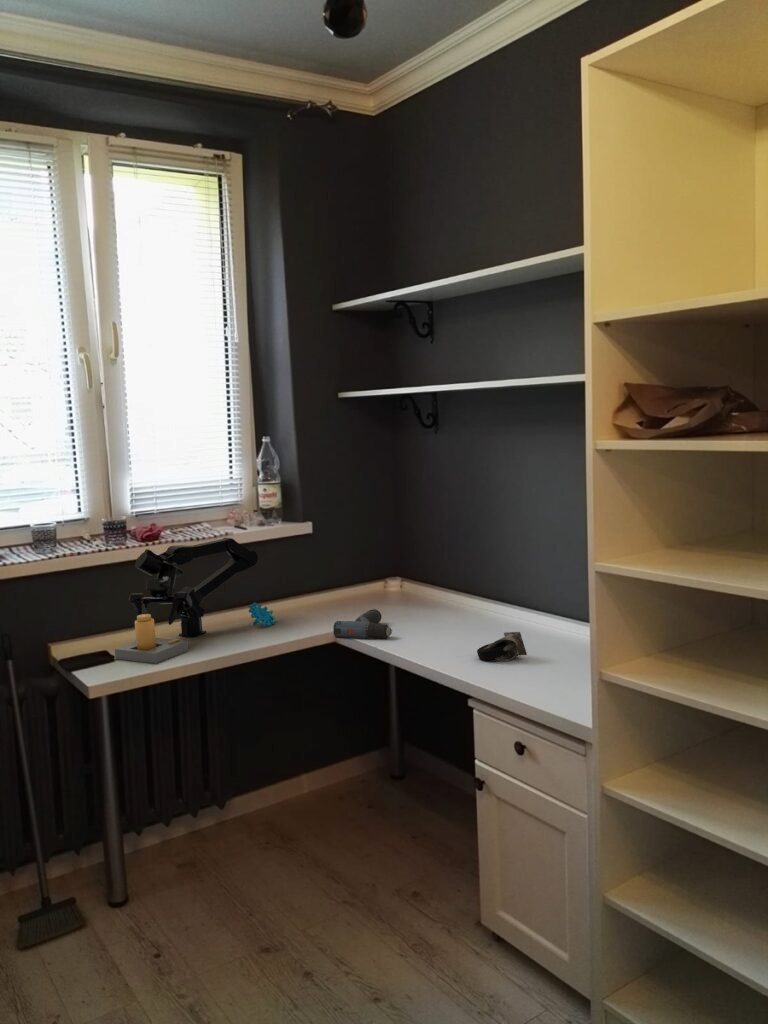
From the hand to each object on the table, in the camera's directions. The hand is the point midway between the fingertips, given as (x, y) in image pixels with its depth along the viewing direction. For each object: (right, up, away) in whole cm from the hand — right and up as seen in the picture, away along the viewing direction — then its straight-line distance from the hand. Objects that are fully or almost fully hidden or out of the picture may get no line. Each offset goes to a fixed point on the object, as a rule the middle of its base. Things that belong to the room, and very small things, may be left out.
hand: (155, 624), depth 265 cm
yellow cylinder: (-1, -9, -6) cm, 10 cm away
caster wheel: (+101, -6, -28) cm, 105 cm away
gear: (+30, -4, +26) cm, 39 cm away
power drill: (+67, -4, +9) cm, 67 cm away
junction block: (0, -9, -4) cm, 9 cm away
